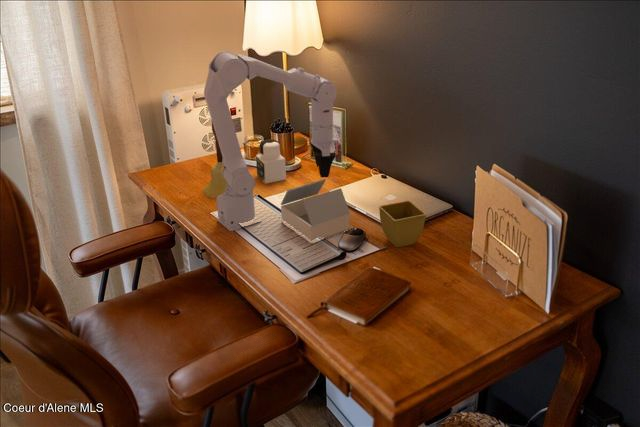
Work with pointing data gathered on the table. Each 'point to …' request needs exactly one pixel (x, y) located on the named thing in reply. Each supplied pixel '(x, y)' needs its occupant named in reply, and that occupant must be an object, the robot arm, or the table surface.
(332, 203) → the near flap
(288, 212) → the storage box
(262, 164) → the medicine bottle
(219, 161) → the handbell
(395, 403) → the table surface
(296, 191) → the far flap
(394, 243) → the flower pot
